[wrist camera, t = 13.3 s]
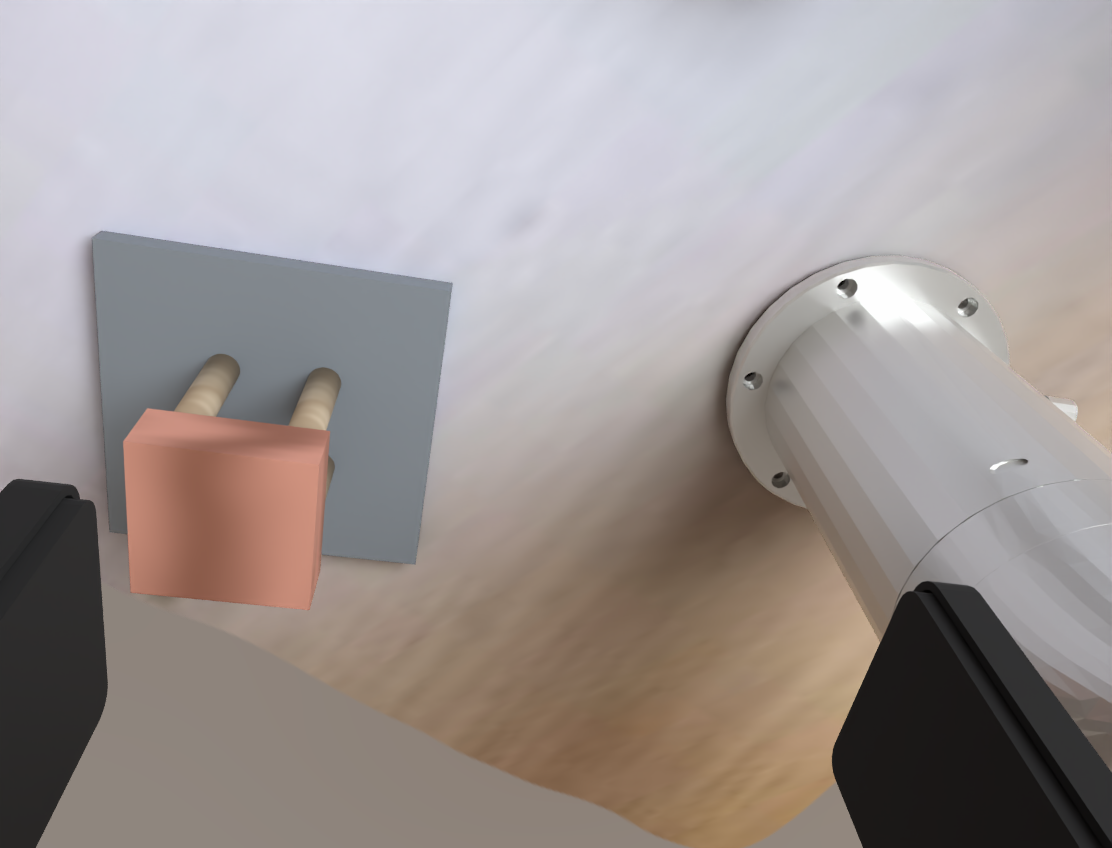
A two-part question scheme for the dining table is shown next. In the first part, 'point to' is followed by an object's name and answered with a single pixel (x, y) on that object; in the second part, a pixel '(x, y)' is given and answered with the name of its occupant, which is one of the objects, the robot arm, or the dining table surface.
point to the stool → (229, 495)
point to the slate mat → (280, 367)
